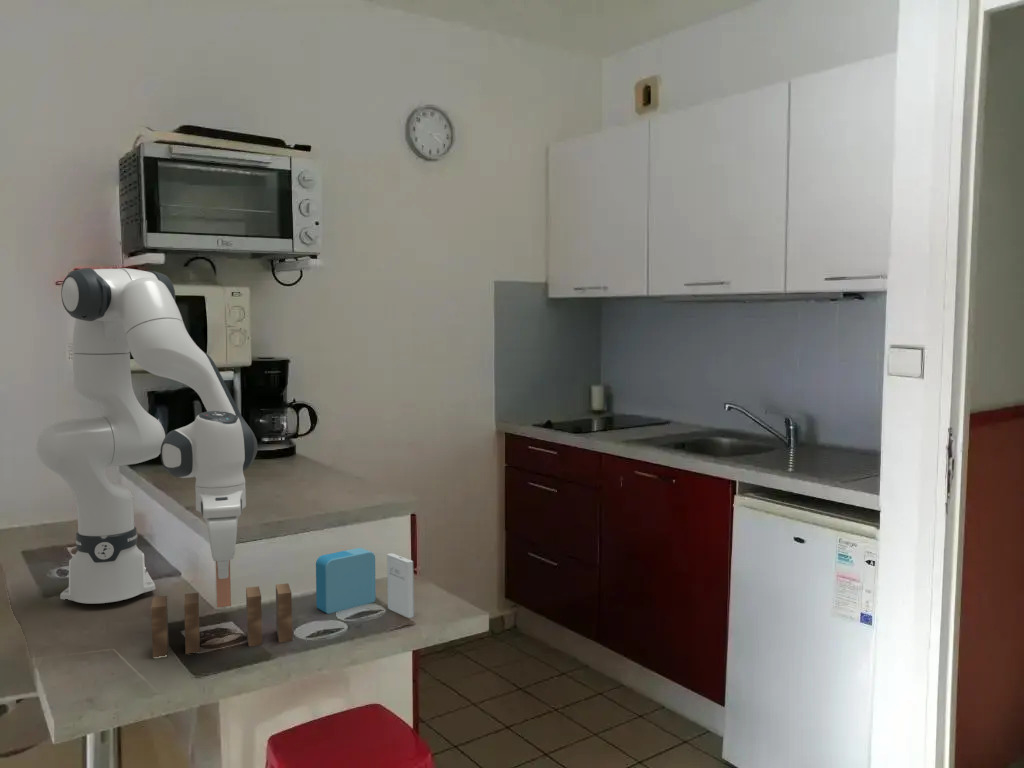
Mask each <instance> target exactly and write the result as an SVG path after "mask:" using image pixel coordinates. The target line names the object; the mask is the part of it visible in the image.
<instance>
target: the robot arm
mask: <svg viewBox="0 0 1024 768" xmlns="http://www.w3.org/2000/svg"><path fill="white" fill-rule="evenodd" d="M60 290H61V291H60V293H61V295H60V296H61V302H62V305H63V308H64V310H65V311H66V312H67V313H68V314H69V316H70V317H72V318H74V319H75V320H74V324H73V325H74V326H73V334H72V376H73V377H72V379H73V386H74V390H75V391H76V392H77V393H78V394H79V395H80V396H82V398H83V397H84V398H85V399H87V400H90V401H92V402H95V403H97V404H99V406H100V408H101V412H102V416H100V417H98V416H97V417H85V418H84V417H83V418H72V419H71V418H70V419H66V420H63V421H58V422H54V423H52V424H47V425H46V426H45V427H44V428H43V429H42V430H41V432H40V434H39V435H38V437H37V442H36V452H37V453H36V454H37V457H38V458H39V460H40V462H42V464H43V466H45V467H46V469H49V470H50V471H51V472H54V473H55V474H57V475H59V476H60V477H61V478H62V479H63V480H64V482H65V483H66V484H67V485H68V486H69V488H70V490H71V492H72V493H73V496H74V501H75V505H76V506H75V507H76V515H77V528H78V529H77V532H76V534H75V549H76V553H75V554H74V555H73V556H72V557H71V559H69V561H68V587H67V588H66V589H64V590H63V591H62V592H61V593H60V594H59V595H60V596H59V598H60V600H65V599H68V600H69V601H73V602H76V603H81V604H105V603H106V604H108V603H114V602H120V601H123V600H128V599H131V598H134V597H136V596H140V595H141V594H144V593H148V592H151V591H154V590H156V583H155V582H154V579H152V576H150V574H149V572H148V568H147V567H146V566H145V563H146V562H145V554H144V552H143V551H142V550H140V549H139V547H138V546H137V544H138V532H137V527H136V526H135V508H134V501H135V499H134V496H133V494H132V492H131V489H129V488H128V487H126V486H124V485H122V484H121V483H117V482H114V481H113V480H112V481H111V480H109V479H108V476H107V475H106V469H107V468H110V467H111V468H112V467H120V466H129V465H136V464H139V463H140V464H141V463H143V462H144V463H145V462H146V461H149V460H152V459H156V458H157V457H159V455H160V461H161V464H162V468H164V469H165V471H166V472H168V473H169V474H170V475H171V476H172V477H175V478H181V479H187V478H195V484H194V486H195V488H194V489H195V510H196V512H199V513H200V514H201V515H202V517H203V519H204V520H205V523H206V526H207V532H208V540H209V545H210V551H211V552H210V553H211V558H212V561H214V562H216V561H217V566H218V577H219V579H225V578H228V576H229V560H230V561H231V560H233V559H234V557H235V552H236V544H237V534H238V521H239V517H240V516H241V515H242V511H243V509H245V508H246V507H247V498H246V497H247V493H246V492H247V491H246V488H247V487H246V476H245V475H244V471H246V470H248V468H249V467H250V466H251V464H252V463H253V462H254V460H255V458H256V456H257V453H258V440H257V438H256V436H255V433H254V432H253V430H252V429H251V426H249V425H248V423H247V422H246V421H245V419H244V417H243V416H242V414H241V412H240V411H239V408H238V406H237V404H236V402H235V400H234V398H233V396H232V394H231V393H230V391H229V388H228V387H227V385H226V382H225V380H224V378H223V377H222V374H221V373H220V371H219V369H218V367H217V365H216V363H215V362H214V361H213V359H212V357H211V356H210V355H209V354H208V353H207V352H205V351H204V350H202V349H201V348H200V347H199V346H198V345H197V344H196V342H195V341H194V340H193V338H192V337H191V336H190V334H189V332H188V330H187V328H186V325H185V322H184V321H183V317H182V314H181V312H180V309H179V307H178V305H177V303H176V291H175V290H176V289H175V286H174V284H173V283H172V281H171V279H170V277H168V276H167V275H166V274H163V273H162V272H157V271H153V270H146V271H145V270H142V269H141V270H140V269H135V268H126V267H125V268H124V267H118V268H94V269H92V268H90V267H88V268H87V267H85V268H79V269H74V270H72V271H70V272H68V274H67V275H66V276H65V277H64V280H63V281H62V284H61V289H60ZM131 357H132V358H133V359H134V362H135V363H136V364H137V366H139V367H140V368H141V369H143V370H144V371H146V372H148V373H150V374H152V375H154V376H157V377H161V378H165V379H170V380H173V381H176V382H178V383H182V384H184V385H185V386H188V387H189V388H190V389H192V390H194V391H195V393H197V396H199V398H200V399H201V402H202V404H203V405H204V406H203V407H204V408H205V410H206V411H204V412H201V413H199V414H198V415H196V416H195V419H194V421H192V422H191V423H189V424H187V425H185V426H182V427H179V428H176V429H173V430H171V431H169V432H168V433H167V434H166V433H165V429H164V427H163V425H162V423H161V422H160V421H159V420H158V419H157V418H156V417H154V416H153V415H151V414H150V413H149V412H148V411H147V410H146V409H144V407H143V406H142V405H141V404H140V402H139V401H138V399H137V396H136V394H135V392H134V388H133V387H134V386H133V384H132V383H133V382H132V371H131Z"/></svg>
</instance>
